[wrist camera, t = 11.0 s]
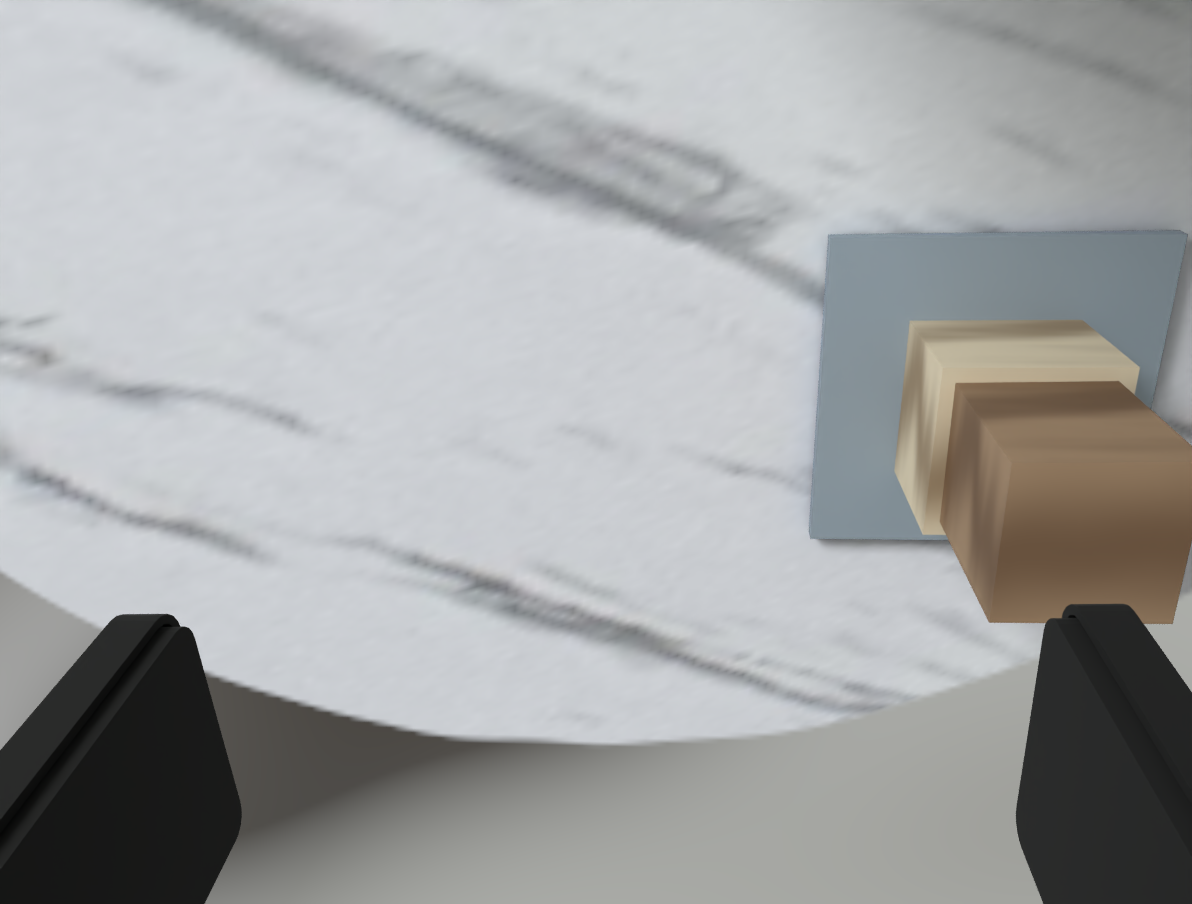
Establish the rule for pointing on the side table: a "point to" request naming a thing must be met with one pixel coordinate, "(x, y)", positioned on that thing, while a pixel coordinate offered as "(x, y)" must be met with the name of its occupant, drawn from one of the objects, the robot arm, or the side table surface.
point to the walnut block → (1066, 499)
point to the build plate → (959, 292)
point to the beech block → (980, 358)
